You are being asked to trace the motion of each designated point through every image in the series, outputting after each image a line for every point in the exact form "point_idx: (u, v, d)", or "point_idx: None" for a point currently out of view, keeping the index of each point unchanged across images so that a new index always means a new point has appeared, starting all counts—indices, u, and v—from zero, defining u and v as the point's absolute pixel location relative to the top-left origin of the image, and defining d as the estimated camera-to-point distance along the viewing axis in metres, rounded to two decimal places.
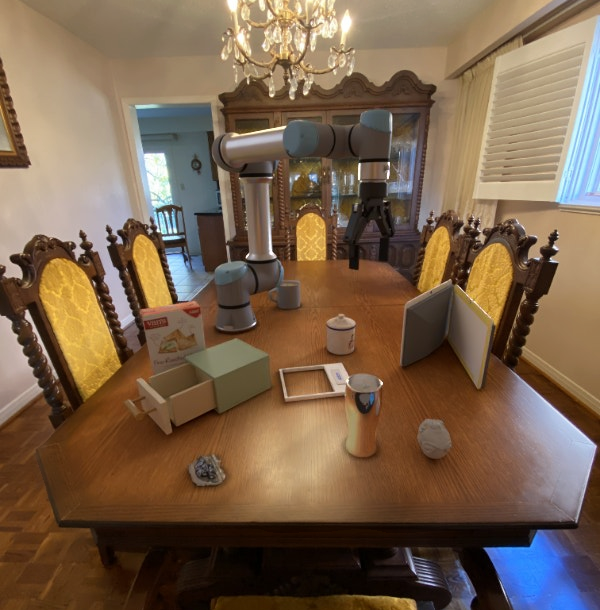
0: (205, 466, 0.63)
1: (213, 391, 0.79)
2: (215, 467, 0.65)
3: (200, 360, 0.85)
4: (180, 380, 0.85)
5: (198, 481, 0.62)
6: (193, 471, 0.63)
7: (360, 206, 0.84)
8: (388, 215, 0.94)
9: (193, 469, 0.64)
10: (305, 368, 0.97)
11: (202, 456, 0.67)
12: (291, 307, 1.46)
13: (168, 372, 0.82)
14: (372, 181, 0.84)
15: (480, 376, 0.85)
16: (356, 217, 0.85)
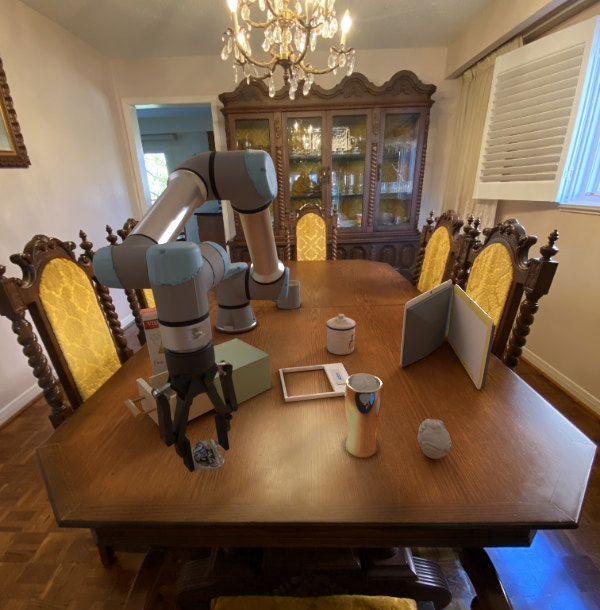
0: (204, 451, 0.63)
1: None
2: (214, 452, 0.64)
3: None
4: None
5: (197, 466, 0.61)
6: None
7: (159, 399, 0.52)
8: (226, 384, 0.61)
9: (192, 454, 0.63)
10: (305, 368, 0.97)
11: (201, 441, 0.66)
12: (291, 307, 1.46)
13: None
14: (177, 351, 0.52)
15: (480, 376, 0.85)
16: (162, 413, 0.53)
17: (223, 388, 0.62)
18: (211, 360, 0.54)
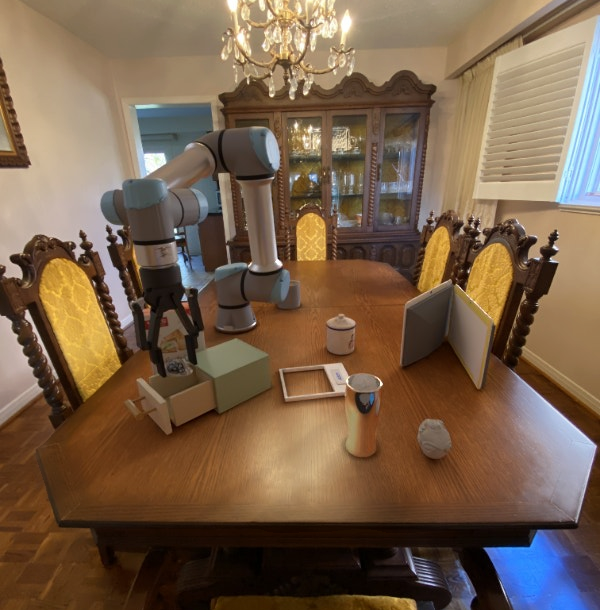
0: (175, 363, 0.75)
1: (213, 391, 0.79)
2: (184, 366, 0.76)
3: (200, 360, 0.85)
4: (180, 380, 0.85)
5: (169, 374, 0.73)
6: (165, 368, 0.75)
7: (134, 308, 0.64)
8: (193, 306, 0.73)
9: (165, 367, 0.75)
10: (305, 368, 0.97)
11: (174, 359, 0.78)
12: (291, 307, 1.46)
13: None
14: (148, 268, 0.64)
15: (480, 376, 0.85)
16: (137, 320, 0.66)
17: (191, 311, 0.75)
18: (177, 278, 0.67)
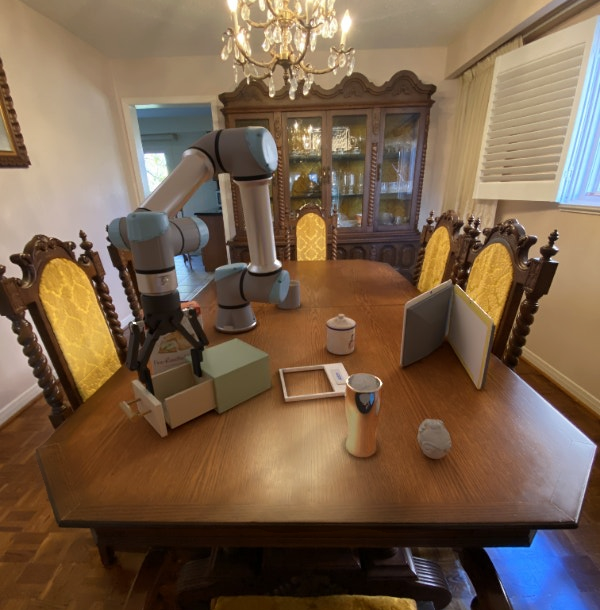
0: None
1: (209, 393, 0.78)
2: None
3: None
4: (176, 382, 0.84)
5: None
6: (165, 404, 0.80)
7: (134, 328, 0.68)
8: (194, 325, 0.77)
9: (165, 403, 0.80)
10: (305, 368, 0.97)
11: (173, 394, 0.83)
12: (291, 307, 1.46)
13: (164, 374, 0.82)
14: (149, 295, 0.68)
15: (480, 376, 0.85)
16: (133, 341, 0.69)
17: (194, 328, 0.79)
18: (176, 304, 0.71)
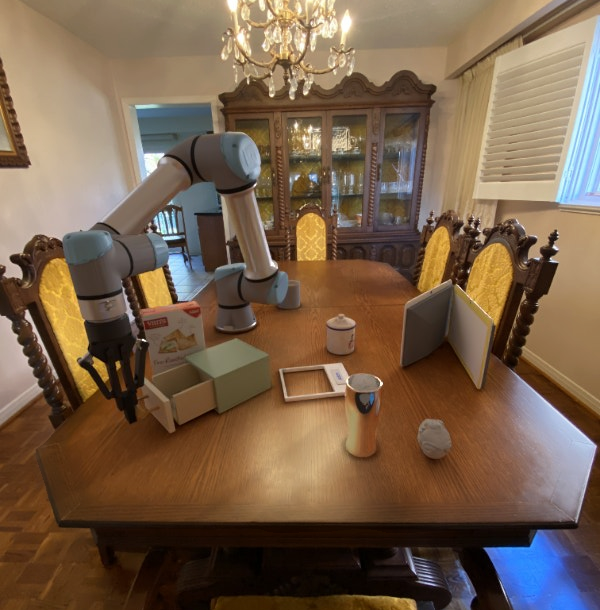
0: None
1: None
2: None
3: (200, 360, 0.85)
4: (183, 379, 0.86)
5: None
6: (172, 401, 0.81)
7: (82, 366, 0.63)
8: (139, 359, 0.70)
9: (172, 399, 0.81)
10: (305, 368, 0.97)
11: None
12: (291, 307, 1.46)
13: (171, 371, 0.83)
14: (92, 322, 0.62)
15: (480, 376, 0.85)
16: (91, 376, 0.65)
17: (136, 363, 0.72)
18: (125, 330, 0.65)
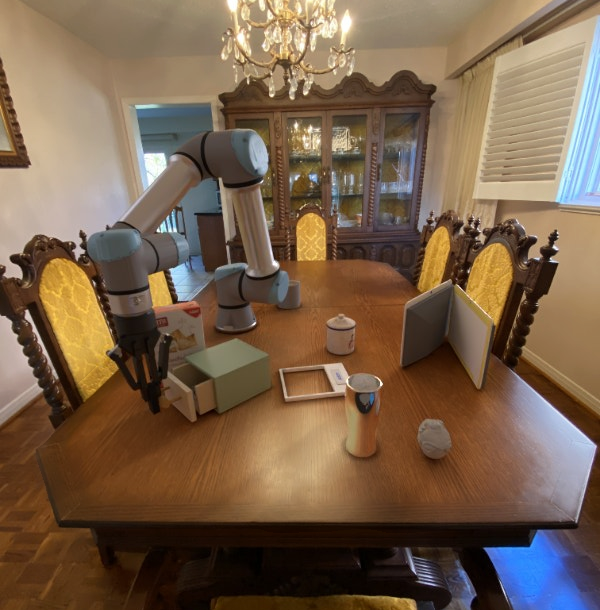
0: None
1: None
2: None
3: (200, 360, 0.85)
4: (201, 372, 0.89)
5: None
6: (192, 392, 0.84)
7: (112, 358, 0.66)
8: (163, 352, 0.74)
9: (192, 391, 0.84)
10: (305, 368, 0.97)
11: None
12: (291, 307, 1.46)
13: (190, 364, 0.86)
14: (122, 316, 0.65)
15: (480, 376, 0.85)
16: (119, 367, 0.68)
17: (159, 356, 0.75)
18: (151, 324, 0.68)
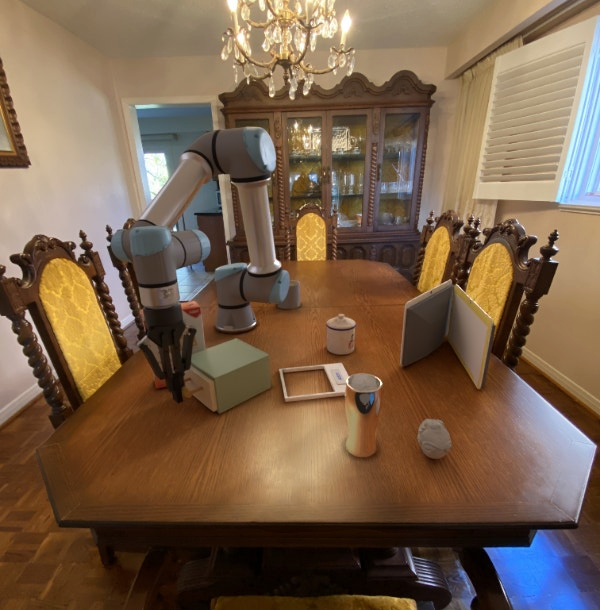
0: None
1: None
2: None
3: (200, 360, 0.85)
4: None
5: None
6: None
7: (142, 348, 0.70)
8: (187, 344, 0.77)
9: None
10: (305, 368, 0.97)
11: None
12: (291, 307, 1.46)
13: None
14: (151, 308, 0.69)
15: (480, 376, 0.85)
16: (148, 357, 0.72)
17: (183, 348, 0.78)
18: (178, 317, 0.72)
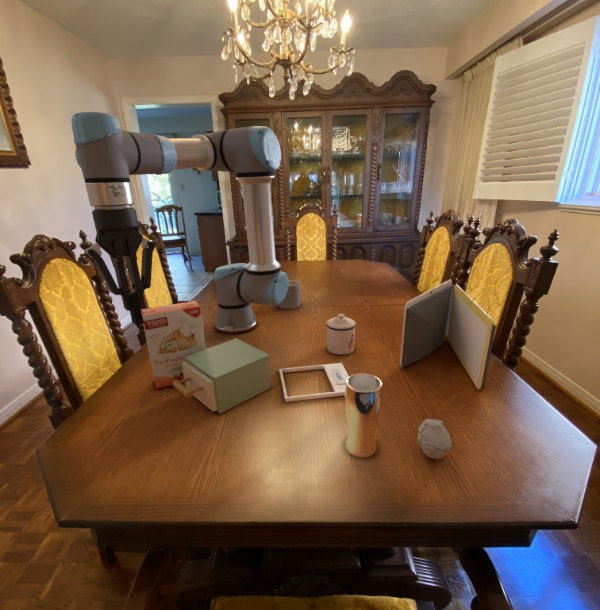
0: None
1: None
2: None
3: (200, 360, 0.85)
4: None
5: None
6: None
7: (91, 254, 0.64)
8: (145, 258, 0.71)
9: None
10: (305, 368, 0.97)
11: None
12: (291, 307, 1.46)
13: None
14: (100, 208, 0.63)
15: (480, 376, 0.85)
16: (99, 266, 0.66)
17: (142, 264, 0.72)
18: (132, 222, 0.65)
